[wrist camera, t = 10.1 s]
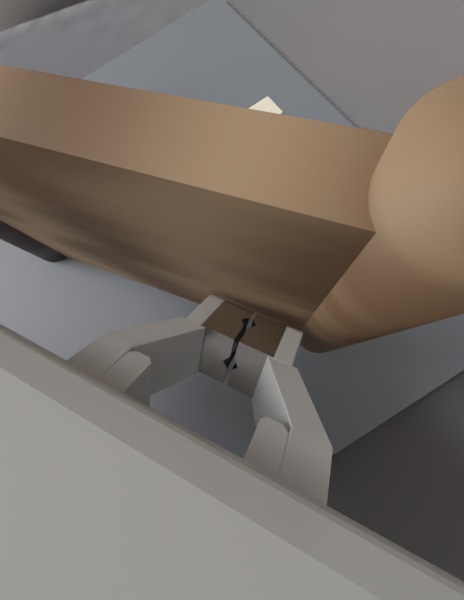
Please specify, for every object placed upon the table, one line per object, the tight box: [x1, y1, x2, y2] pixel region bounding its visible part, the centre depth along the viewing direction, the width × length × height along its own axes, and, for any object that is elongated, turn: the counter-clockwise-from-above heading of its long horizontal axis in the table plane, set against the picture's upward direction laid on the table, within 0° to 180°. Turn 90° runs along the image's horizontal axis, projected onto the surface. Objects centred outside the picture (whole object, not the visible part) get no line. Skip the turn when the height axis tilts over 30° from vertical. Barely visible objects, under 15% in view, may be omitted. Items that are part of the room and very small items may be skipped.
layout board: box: [0, 0, 464, 458], centre depth 15 cm, size 24×28×1 cm
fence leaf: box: [0, 65, 464, 353], centre depth 9 cm, size 15×2×10 cm, turn 69°
